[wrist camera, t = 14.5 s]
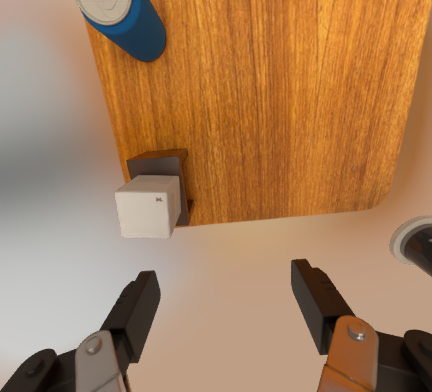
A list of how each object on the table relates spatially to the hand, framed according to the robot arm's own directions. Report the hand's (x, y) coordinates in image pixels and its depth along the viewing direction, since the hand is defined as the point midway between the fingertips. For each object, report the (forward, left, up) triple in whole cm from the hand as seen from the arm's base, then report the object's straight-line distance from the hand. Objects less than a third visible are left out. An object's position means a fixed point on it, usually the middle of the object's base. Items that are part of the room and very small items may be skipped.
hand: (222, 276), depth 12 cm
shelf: (+7, +6, -27) cm, 28 cm away
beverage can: (+19, -13, -27) cm, 36 cm away
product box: (+7, +6, -19) cm, 21 cm away
